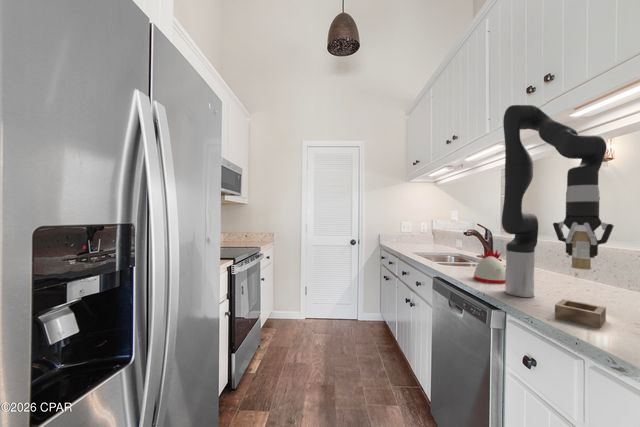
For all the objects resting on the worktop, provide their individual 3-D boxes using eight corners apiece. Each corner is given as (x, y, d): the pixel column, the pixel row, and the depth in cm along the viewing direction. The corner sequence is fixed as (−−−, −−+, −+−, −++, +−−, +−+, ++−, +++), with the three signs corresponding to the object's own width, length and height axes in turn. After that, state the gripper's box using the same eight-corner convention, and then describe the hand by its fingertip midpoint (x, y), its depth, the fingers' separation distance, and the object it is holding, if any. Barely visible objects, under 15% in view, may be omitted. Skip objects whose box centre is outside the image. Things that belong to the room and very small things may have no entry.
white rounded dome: (511, 285, 127) (512, 252, 127) (477, 282, 131) (478, 250, 131) (502, 278, 140) (502, 248, 140) (471, 276, 144) (471, 247, 144)
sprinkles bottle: (571, 266, 89) (571, 224, 89) (591, 268, 86) (591, 224, 86) (571, 268, 86) (571, 224, 86) (591, 270, 82) (592, 225, 82)
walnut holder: (554, 317, 86) (555, 304, 86) (562, 311, 93) (563, 298, 93) (600, 328, 79) (600, 314, 79) (605, 320, 85) (605, 307, 85)
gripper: (549, 200, 89) (548, 254, 89) (614, 199, 78) (613, 260, 78) (555, 201, 94) (554, 252, 94) (617, 200, 82) (616, 258, 82)
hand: (581, 256), depth 86 cm, fingers closed on sprinkles bottle, 4 cm apart
